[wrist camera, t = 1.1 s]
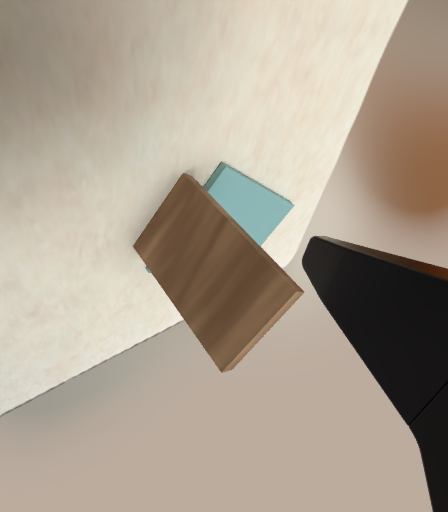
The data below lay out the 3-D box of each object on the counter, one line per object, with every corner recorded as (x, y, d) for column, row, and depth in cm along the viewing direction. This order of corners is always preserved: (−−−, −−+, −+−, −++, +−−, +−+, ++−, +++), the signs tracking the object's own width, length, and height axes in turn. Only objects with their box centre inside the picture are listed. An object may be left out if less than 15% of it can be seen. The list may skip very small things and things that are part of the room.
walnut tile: (132, 246, 28) (221, 372, 22) (183, 173, 25) (296, 291, 20) (144, 248, 28) (232, 369, 23) (193, 177, 26) (304, 292, 21)
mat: (145, 268, 30) (148, 272, 30) (221, 162, 27) (226, 166, 27) (228, 277, 41) (231, 280, 41) (290, 202, 38) (294, 205, 37)
